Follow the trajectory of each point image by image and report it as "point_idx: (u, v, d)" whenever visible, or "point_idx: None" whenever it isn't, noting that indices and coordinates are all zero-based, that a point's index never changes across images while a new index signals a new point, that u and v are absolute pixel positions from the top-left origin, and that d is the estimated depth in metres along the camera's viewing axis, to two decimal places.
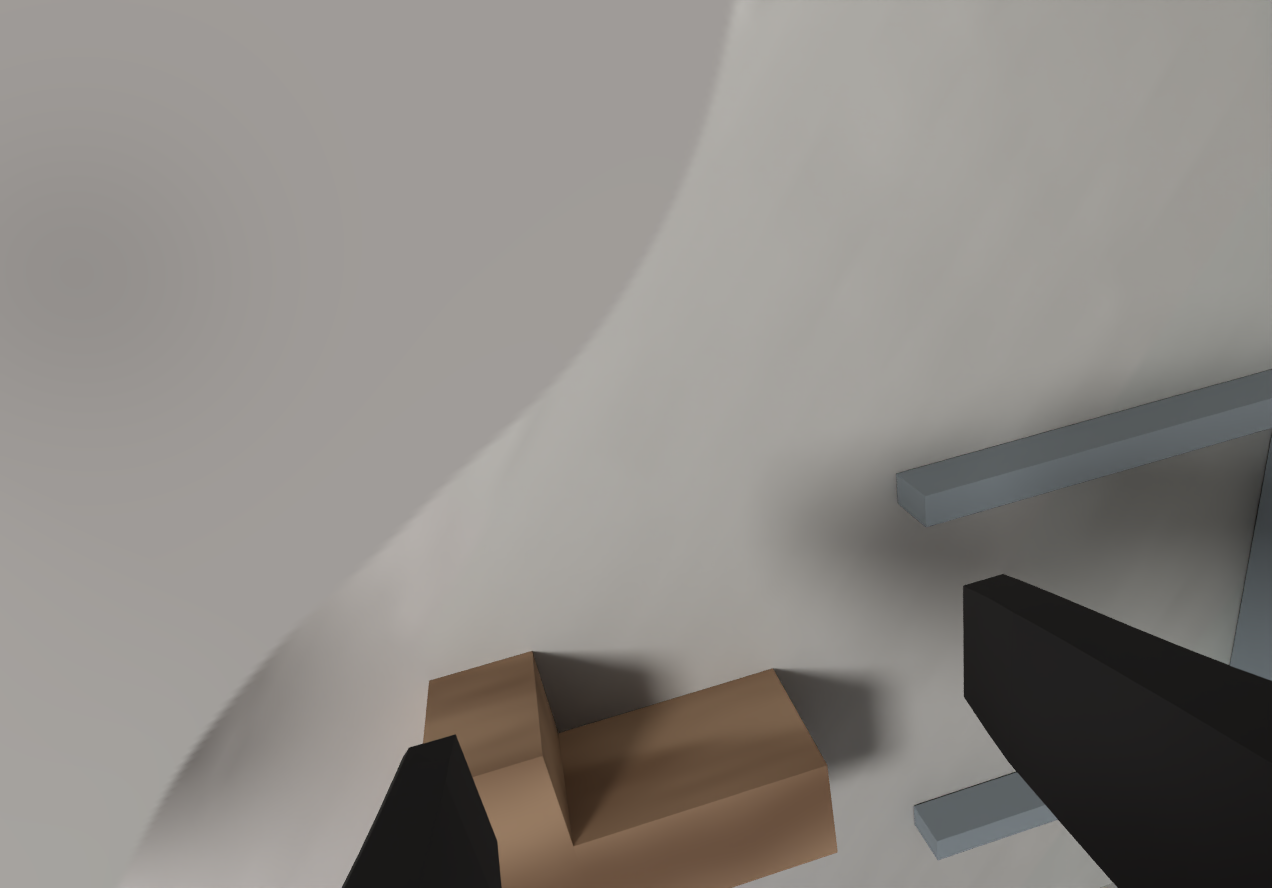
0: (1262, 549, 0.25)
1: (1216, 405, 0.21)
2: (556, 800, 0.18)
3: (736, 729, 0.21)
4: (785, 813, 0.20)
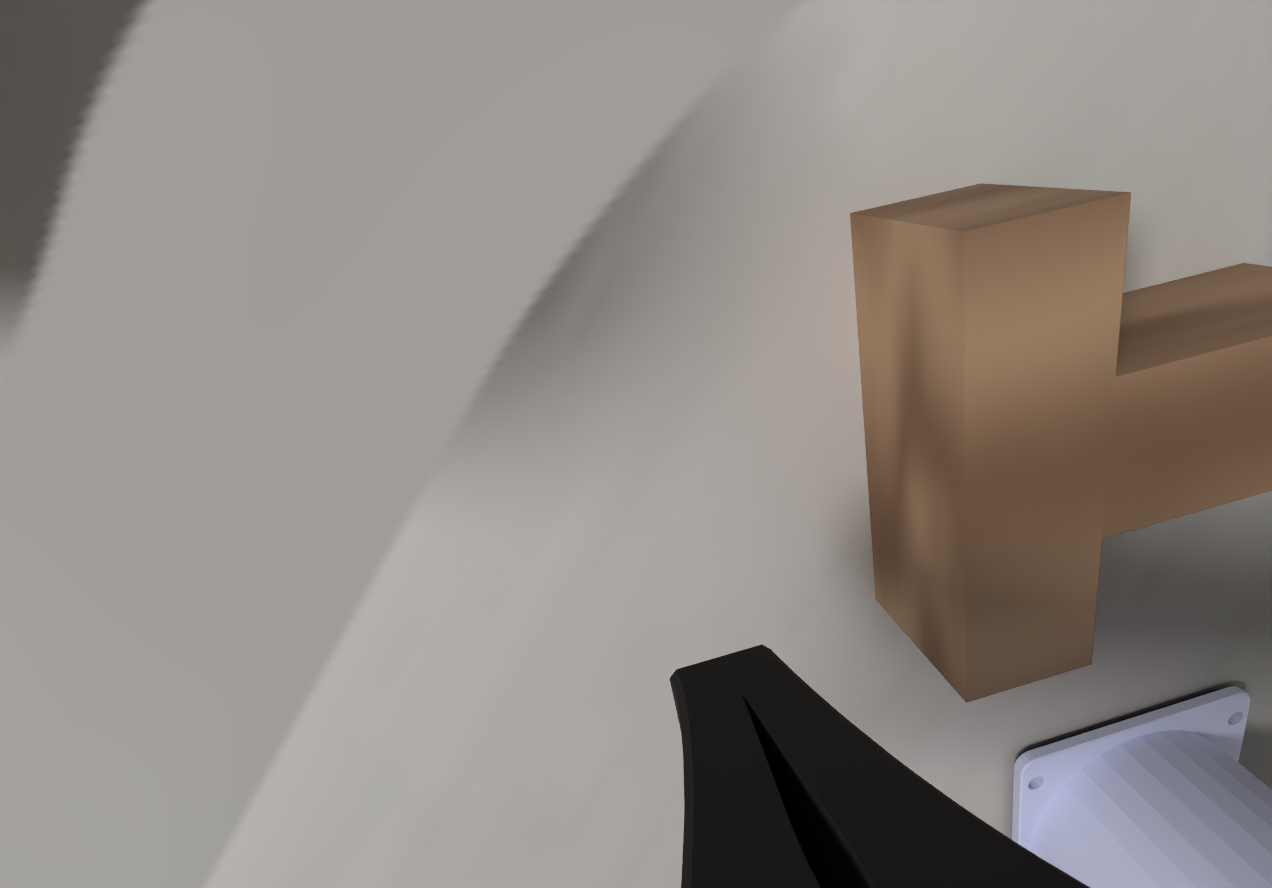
0: None
1: None
2: (1121, 285, 0.13)
3: (1253, 293, 0.16)
4: None
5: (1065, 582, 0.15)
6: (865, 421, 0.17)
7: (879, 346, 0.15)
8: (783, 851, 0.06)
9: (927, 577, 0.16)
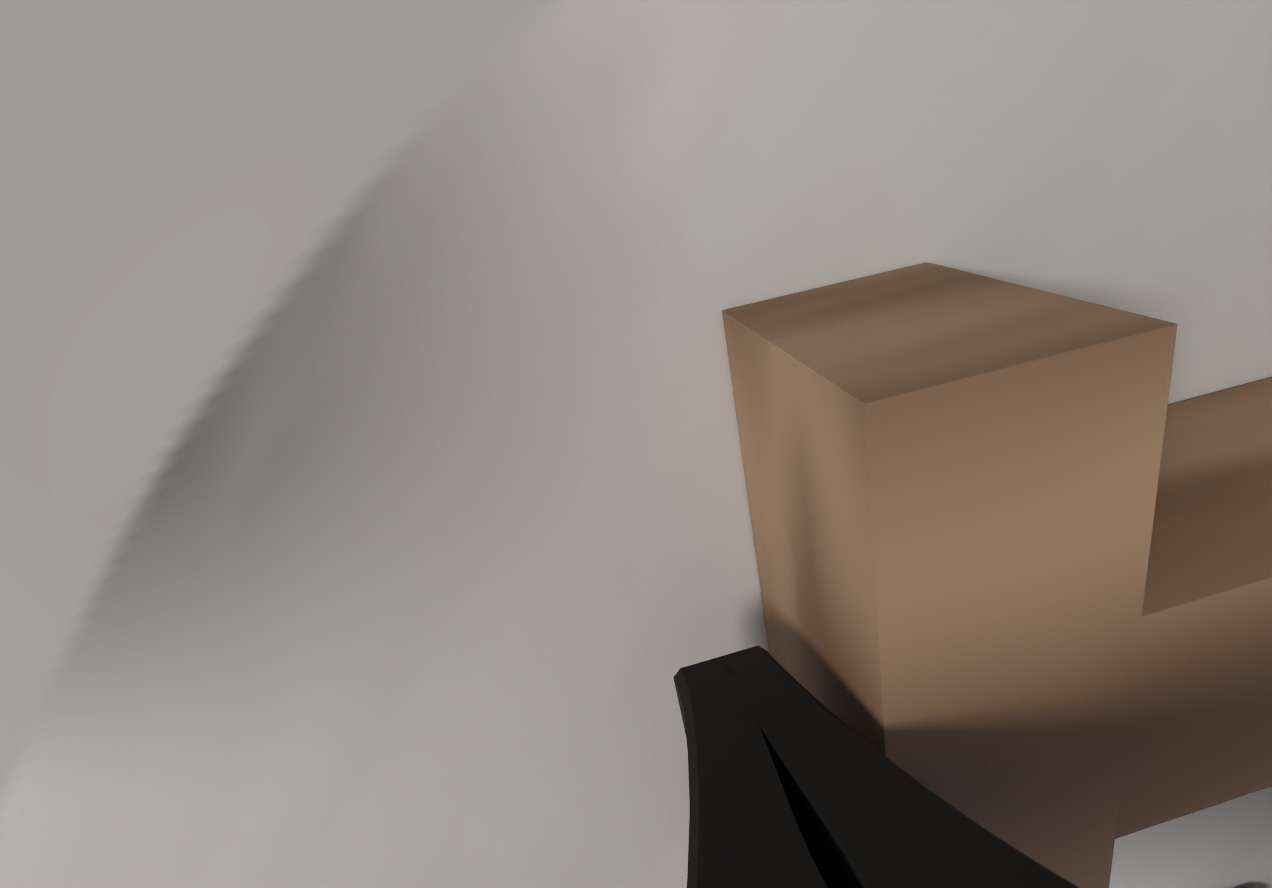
0: None
1: None
2: (1154, 477, 0.07)
3: None
4: None
5: None
6: (764, 602, 0.12)
7: (769, 516, 0.10)
8: (789, 849, 0.06)
9: None
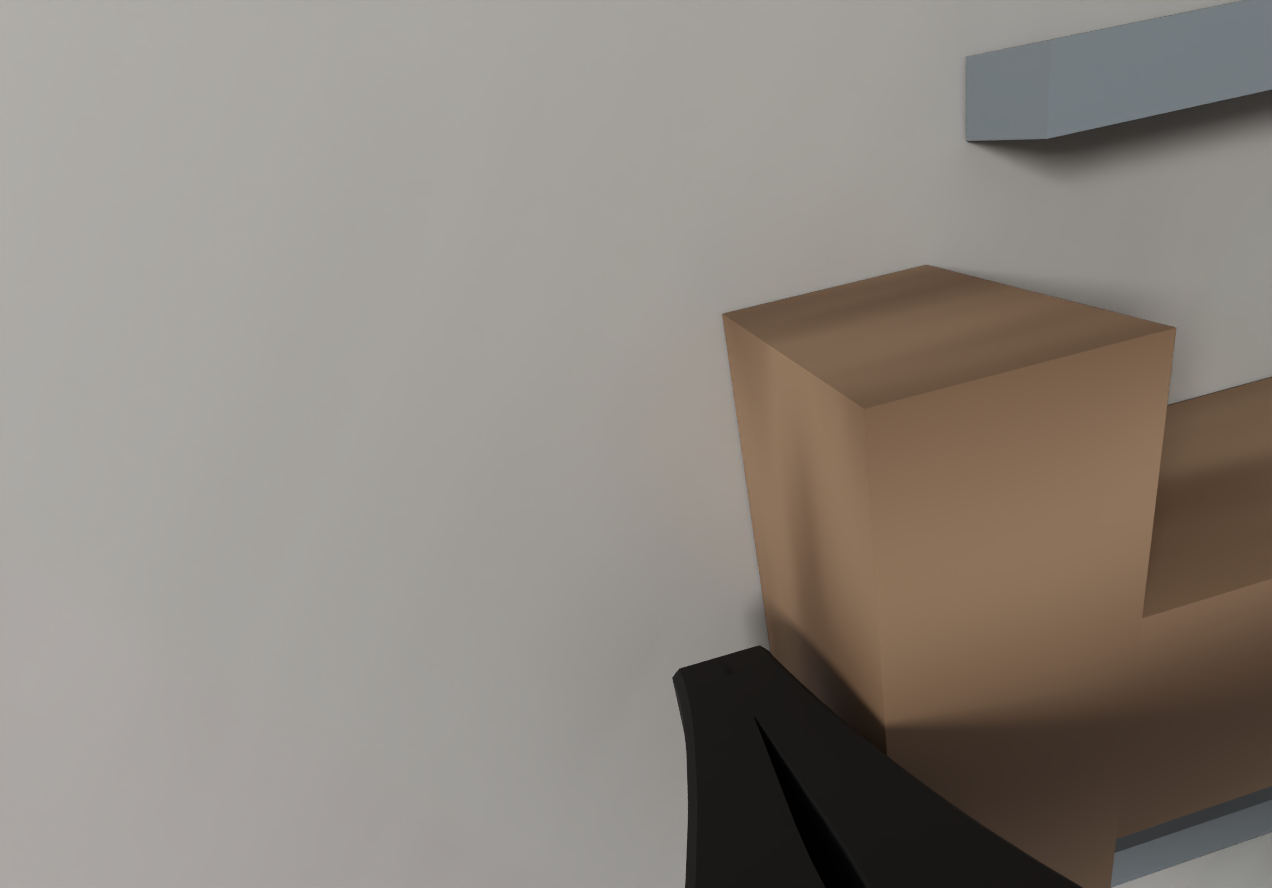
0: None
1: None
2: (1155, 480, 0.07)
3: None
4: None
5: None
6: (765, 603, 0.12)
7: (771, 518, 0.10)
8: (787, 850, 0.06)
9: None
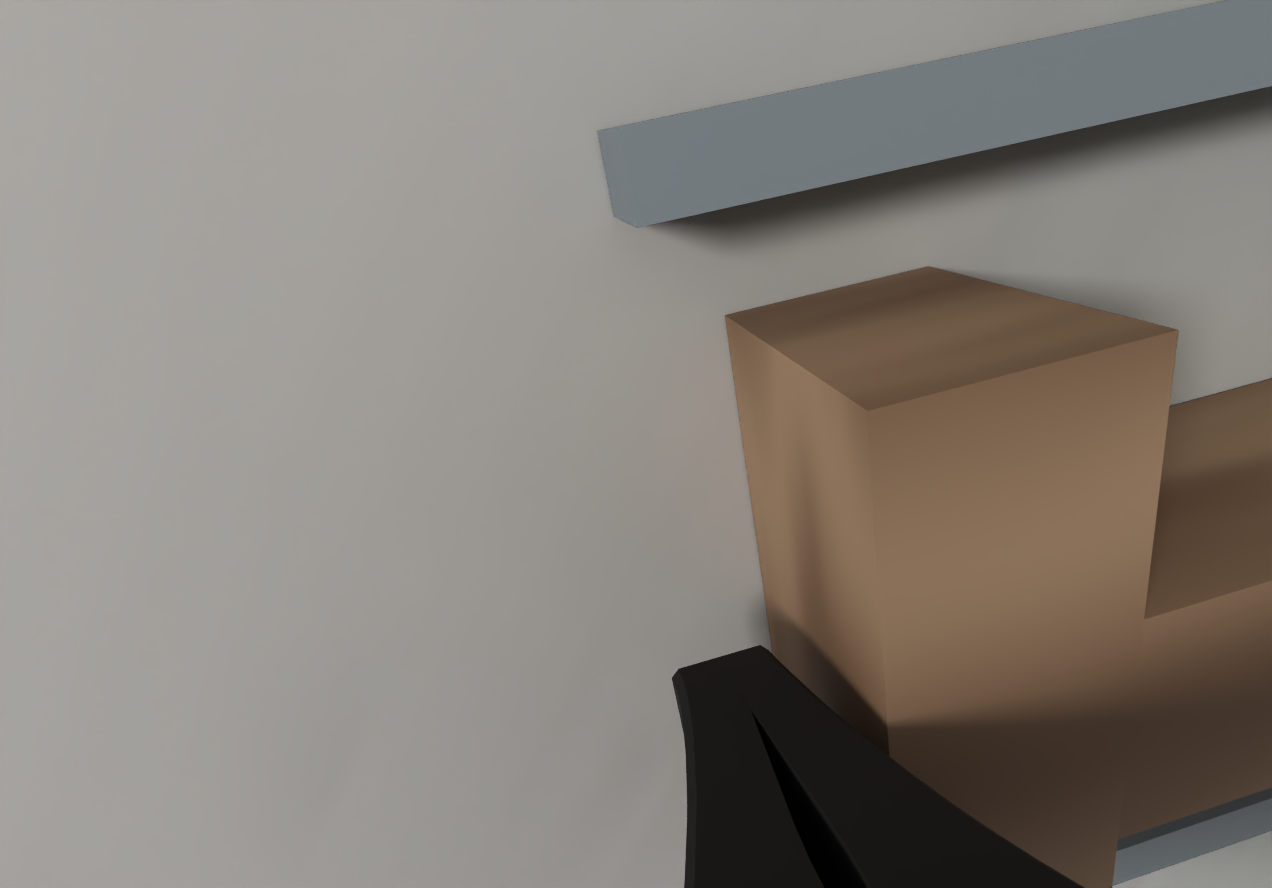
0: None
1: None
2: (1156, 482, 0.07)
3: None
4: None
5: None
6: (767, 604, 0.12)
7: (773, 520, 0.10)
8: (786, 850, 0.06)
9: None
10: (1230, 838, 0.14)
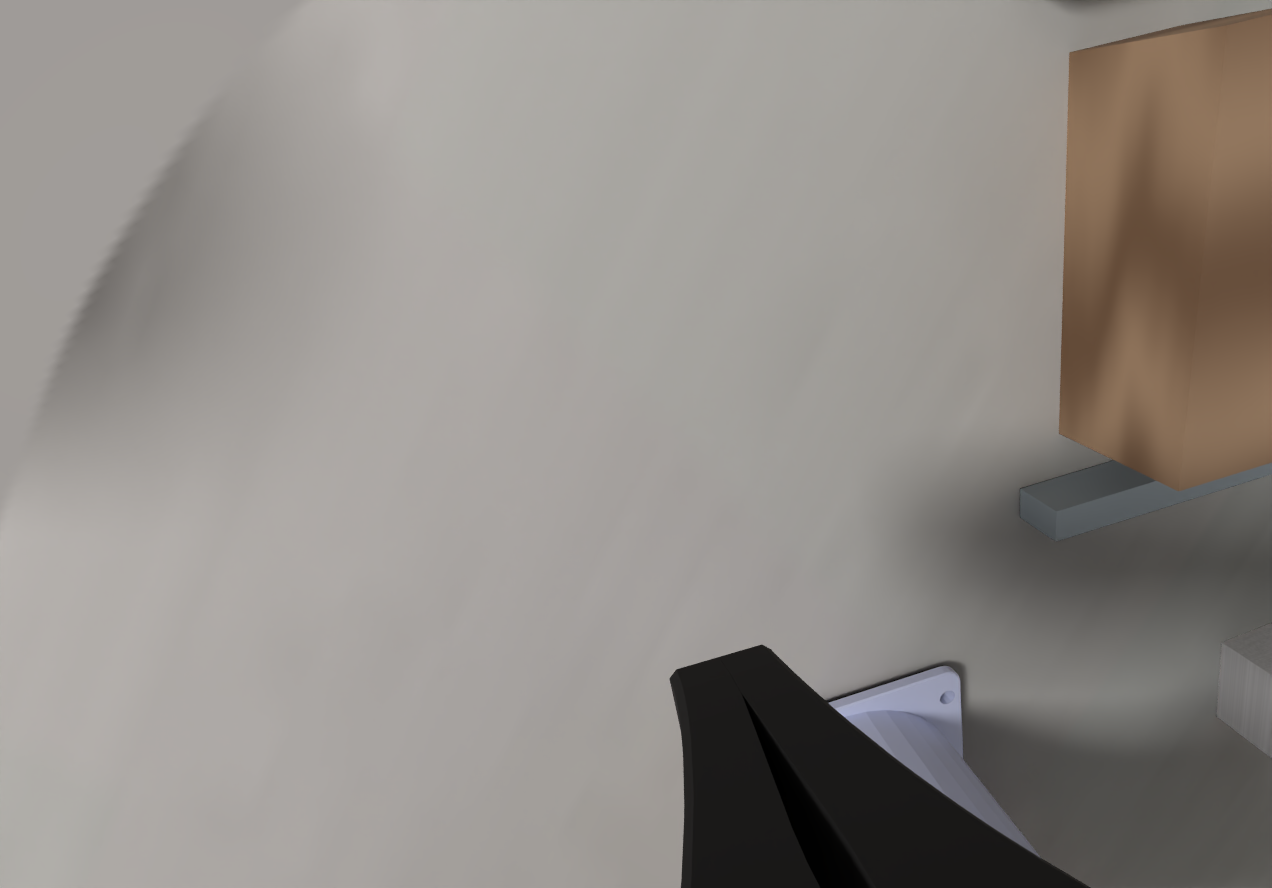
0: None
1: None
2: None
3: None
4: None
5: None
6: (1066, 255, 0.19)
7: (1095, 173, 0.17)
8: (783, 851, 0.06)
9: (1136, 384, 0.18)
10: None
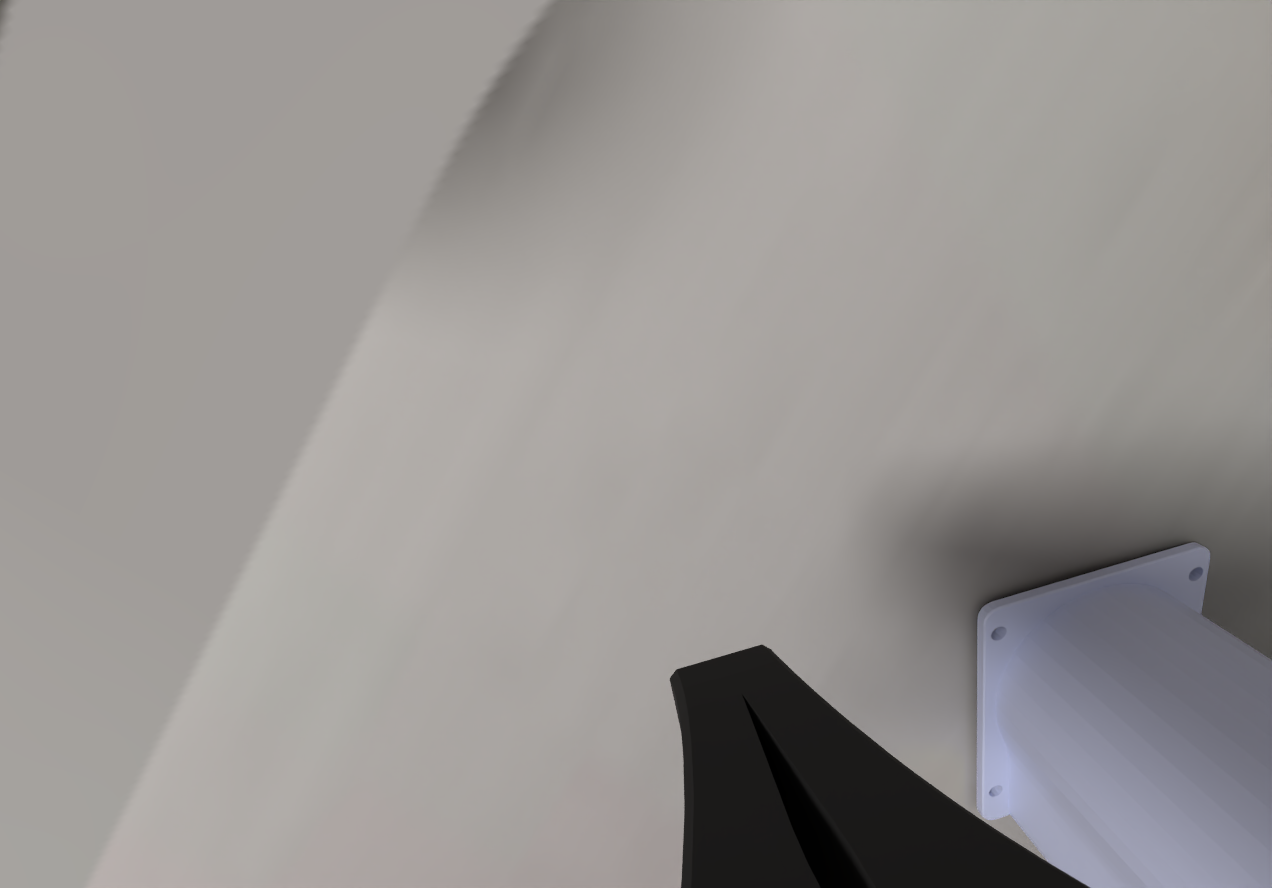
0: None
1: None
2: None
3: None
4: None
5: None
6: None
7: None
8: (783, 851, 0.06)
9: None
10: None
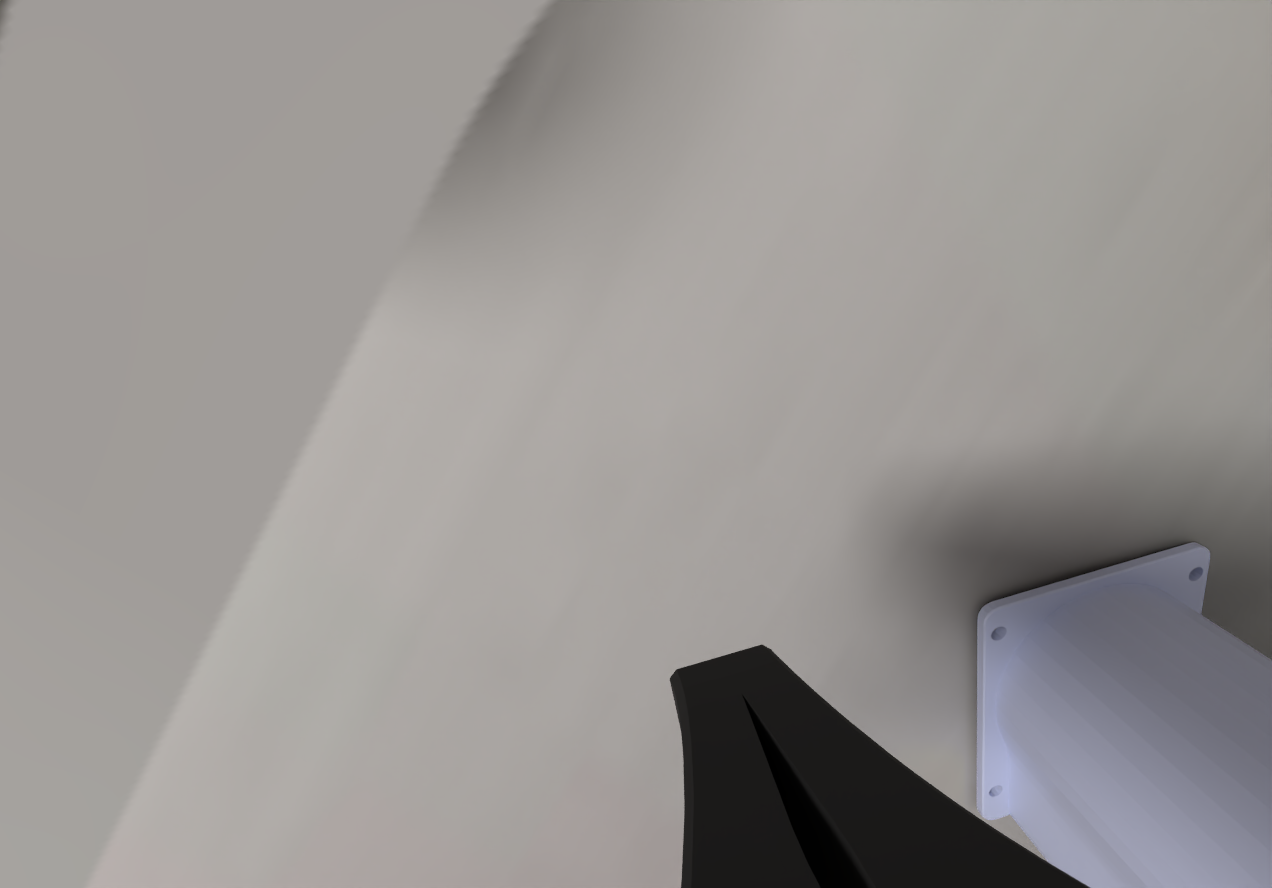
0: None
1: None
2: None
3: None
4: None
5: None
6: None
7: None
8: (783, 851, 0.06)
9: None
10: None
